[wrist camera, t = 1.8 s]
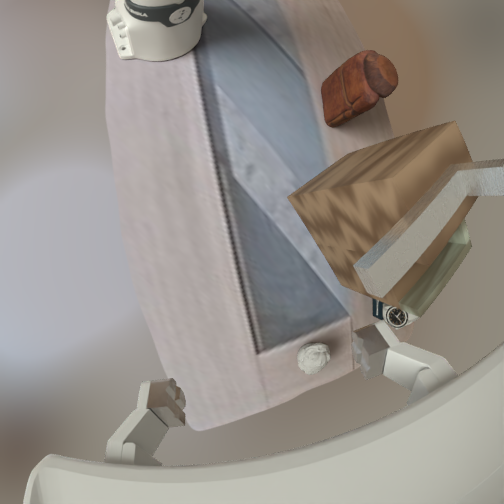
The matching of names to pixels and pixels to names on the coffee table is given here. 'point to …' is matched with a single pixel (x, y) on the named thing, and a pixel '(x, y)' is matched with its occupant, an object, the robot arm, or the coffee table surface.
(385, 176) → the stepped shelf
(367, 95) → the wooden figurine
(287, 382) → the coffee table surface
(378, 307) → the watch
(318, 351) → the white rough round lump
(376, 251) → the aluminium bracket
